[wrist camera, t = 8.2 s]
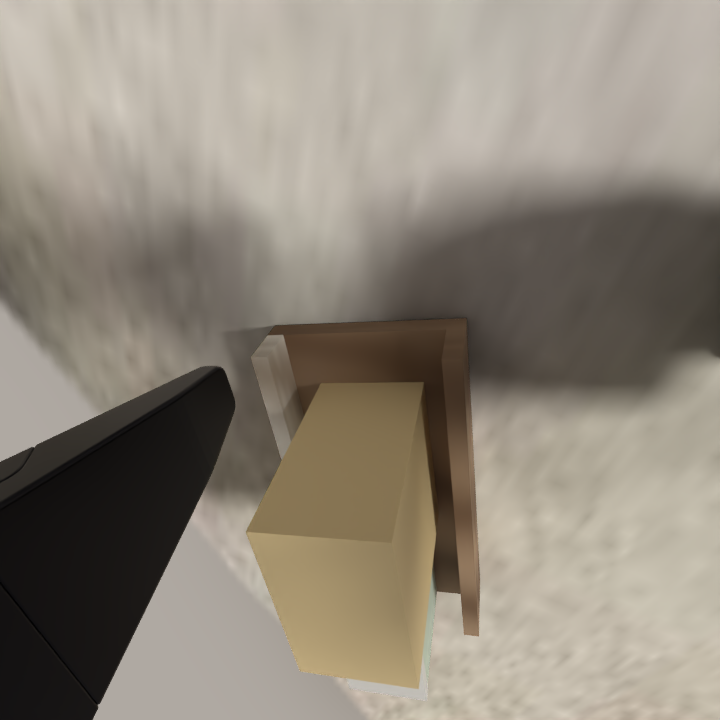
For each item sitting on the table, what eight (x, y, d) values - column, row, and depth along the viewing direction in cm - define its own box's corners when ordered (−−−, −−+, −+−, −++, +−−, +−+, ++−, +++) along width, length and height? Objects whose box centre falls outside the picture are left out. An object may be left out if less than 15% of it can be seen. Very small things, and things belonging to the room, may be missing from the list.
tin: (432, 546, 29) (419, 655, 24) (437, 592, 31) (426, 701, 26) (362, 541, 30) (336, 644, 25) (372, 585, 32) (349, 688, 27)
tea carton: (438, 513, 27) (418, 689, 20) (347, 507, 29) (297, 670, 21) (423, 382, 23) (391, 543, 16) (318, 383, 24) (242, 531, 17)
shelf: (480, 581, 31) (478, 636, 28) (335, 567, 33) (321, 616, 30) (466, 318, 22) (462, 359, 19) (271, 325, 24) (241, 363, 22)
